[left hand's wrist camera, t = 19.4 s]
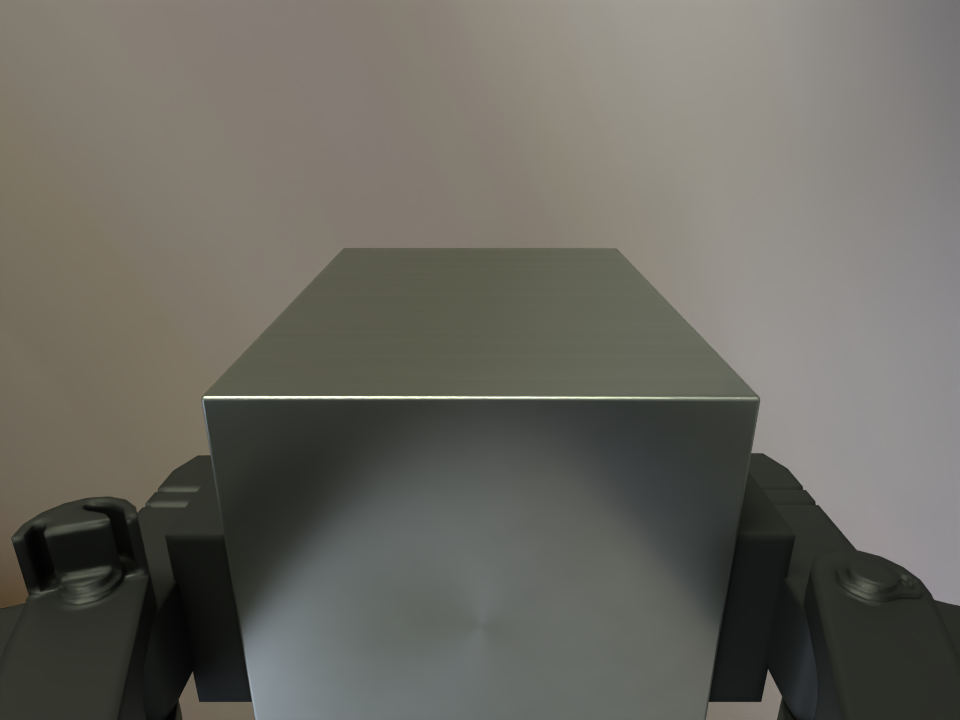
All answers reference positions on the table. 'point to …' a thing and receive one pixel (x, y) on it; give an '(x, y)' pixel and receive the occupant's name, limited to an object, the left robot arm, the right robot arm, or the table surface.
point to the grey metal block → (480, 491)
